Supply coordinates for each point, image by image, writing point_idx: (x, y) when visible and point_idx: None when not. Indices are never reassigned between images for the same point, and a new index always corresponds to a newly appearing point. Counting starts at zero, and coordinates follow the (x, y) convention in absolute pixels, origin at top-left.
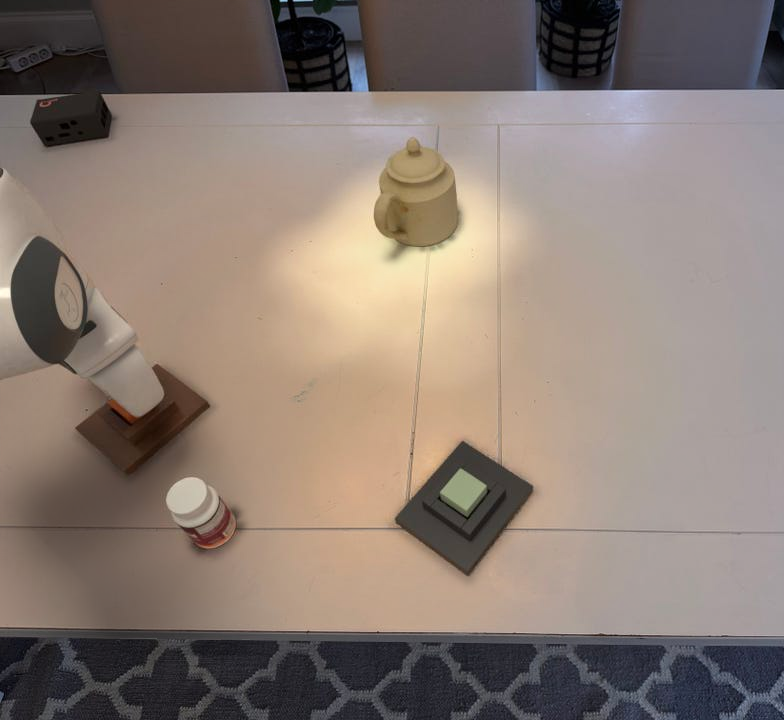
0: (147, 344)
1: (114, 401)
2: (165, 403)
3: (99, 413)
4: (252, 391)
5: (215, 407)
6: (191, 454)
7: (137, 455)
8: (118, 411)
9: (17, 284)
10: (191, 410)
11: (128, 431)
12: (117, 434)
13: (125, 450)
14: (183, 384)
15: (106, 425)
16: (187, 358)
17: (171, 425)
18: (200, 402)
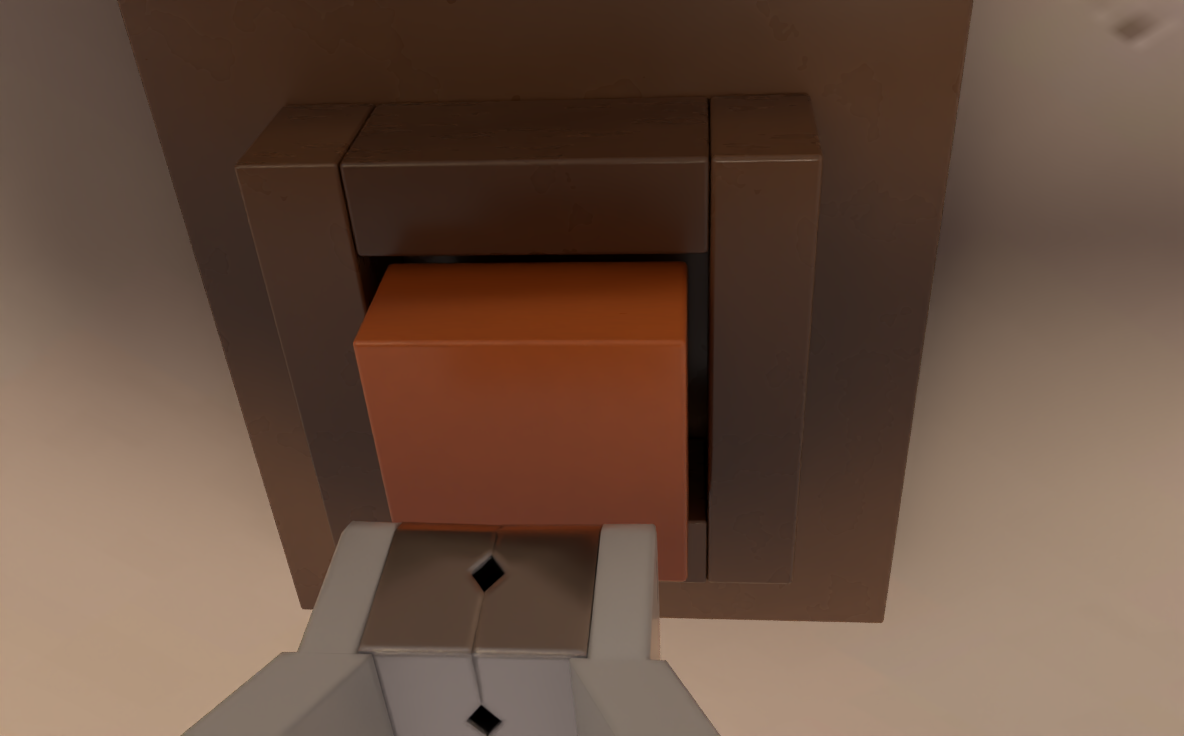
0: (1145, 634)
1: (632, 385)
2: None
3: (756, 163)
4: None
5: (289, 568)
6: (23, 290)
7: (169, 63)
8: (502, 331)
9: None
10: (299, 524)
11: (316, 212)
12: (530, 79)
13: (302, 23)
14: None
15: (711, 72)
16: (781, 683)
17: (271, 388)
18: (319, 584)
